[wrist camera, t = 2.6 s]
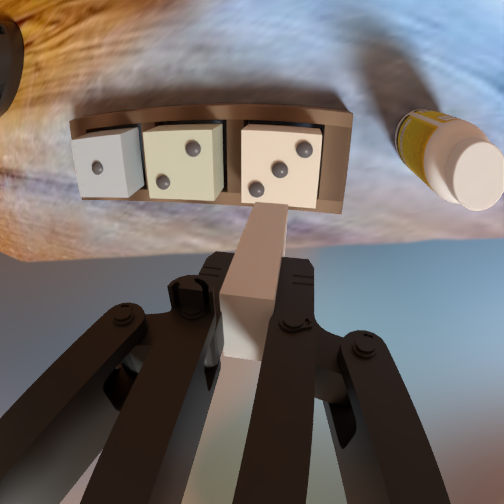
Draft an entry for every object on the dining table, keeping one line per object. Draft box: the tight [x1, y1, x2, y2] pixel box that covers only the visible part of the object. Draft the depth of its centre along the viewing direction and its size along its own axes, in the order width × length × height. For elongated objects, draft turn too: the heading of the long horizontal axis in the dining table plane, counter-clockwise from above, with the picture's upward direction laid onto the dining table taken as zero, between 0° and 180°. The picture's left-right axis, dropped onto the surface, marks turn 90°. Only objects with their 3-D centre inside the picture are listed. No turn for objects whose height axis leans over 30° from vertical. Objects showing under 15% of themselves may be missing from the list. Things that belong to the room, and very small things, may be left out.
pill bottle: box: [395, 109, 504, 211], centre depth 19 cm, size 6×6×11 cm
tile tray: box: [69, 103, 353, 214], centre depth 26 cm, size 27×9×2 cm, turn 89°
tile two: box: [143, 124, 224, 201], centre depth 24 cm, size 6×6×3 cm
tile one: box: [71, 127, 144, 198], centre depth 25 cm, size 6×6×3 cm
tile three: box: [241, 124, 322, 209], centre depth 23 cm, size 6×6×3 cm
